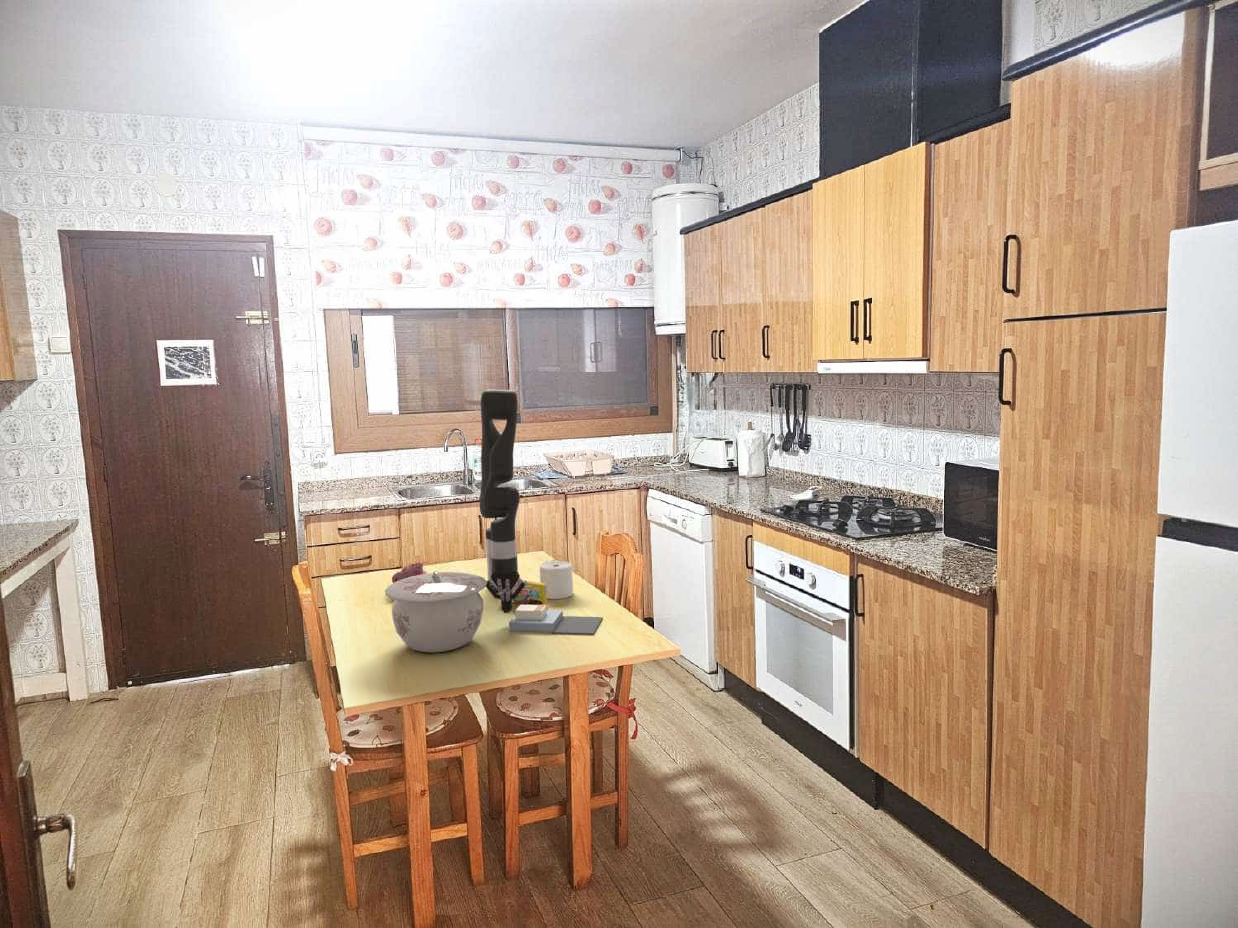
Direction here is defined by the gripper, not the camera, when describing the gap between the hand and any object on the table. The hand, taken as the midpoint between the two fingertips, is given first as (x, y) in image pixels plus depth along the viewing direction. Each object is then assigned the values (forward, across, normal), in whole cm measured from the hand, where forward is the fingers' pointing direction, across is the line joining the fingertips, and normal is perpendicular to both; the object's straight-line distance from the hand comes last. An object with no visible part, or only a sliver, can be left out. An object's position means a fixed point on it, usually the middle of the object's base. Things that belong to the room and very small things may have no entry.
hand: (506, 612), depth 238 cm
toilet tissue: (+4, -7, -30) cm, 31 cm away
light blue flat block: (+4, -9, 0) cm, 10 cm away
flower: (+4, +42, -29) cm, 51 cm away
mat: (+4, -21, 0) cm, 22 cm away
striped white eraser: (+1, -7, 0) cm, 7 cm away
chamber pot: (+4, +14, +18) cm, 23 cm away
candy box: (+4, 0, -17) cm, 18 cm away
